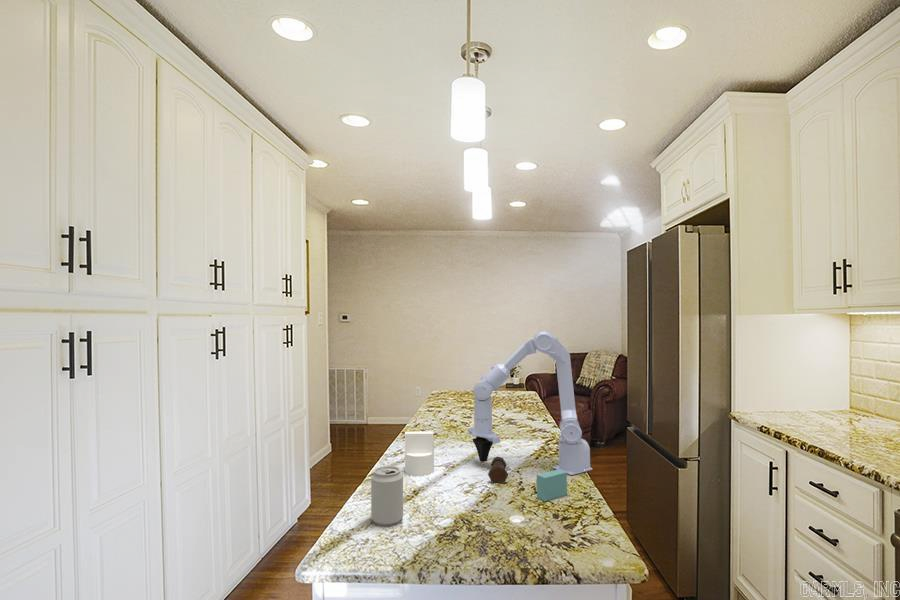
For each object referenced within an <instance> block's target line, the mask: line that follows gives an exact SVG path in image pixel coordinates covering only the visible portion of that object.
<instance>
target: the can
mask: <svg viewBox="0 0 900 600" xmlns="http://www.w3.org/2000/svg"><path fill="white" fill-rule="evenodd" d="M370 480H371V482H370V483H371V486H370V487H371V488H370V491H371V492H370V494H371V495H370V496H371V497H370V498H371V500H370V502H371V505H370V507H371V508H370V510H371V511H370V513H371V514H370V515H371V516H370V517H371V520H372V521H373V522H374V523H375V524H376V525H378V526H382V527H389V526H393V525H396V524H398V523H400V521H401V520H402V519H403V517H404V474H403V473H402V472H401V468H399V467H398V466H396V465H395V466H393V465H383V466H379V467H376V468H375V469H374V470H373V474H372V475H371V478H370Z"/></svg>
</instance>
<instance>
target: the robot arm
mask: <svg viewBox="0 0 900 600" xmlns="http://www.w3.org/2000/svg"><path fill="white" fill-rule="evenodd" d="M537 351H538V352H540V353H543V354H546V355H548V356H549V357H550V358H551V359H553V360H554V361H555V363H556V365H555V366H556V374H557V383H558V384H557V385H558V395H559V404H560V417H561V418H560V421H559V425H558V428H559V430H560V437H558V465H555V466H552V468H553V469H554V470H557V469H559V470H562V471H565V472H567V475H570V476H573V475H578V474H581V473H584V472H588V471H592V470H593V468H592V467H591V448H590V445H589V443H588V442H587V440H586V439H583V438H582V436H583V431H582V429H581V427H580V423H579V421H578V415H577V409H576V400H575V393H574V391H575V389H574V380H573V373H572V372H573V371H572V362H571V354H570V352H569V350H567V348H566V347H565V346H564V345H563V344H562V342H561V341H560V340H559V339H558V338H557V337H556V336H555V335H554V334H552V333H550V332H548V331H547V330H541V331H538V332H537V333H536V334H534V336H531V337H530V338H529V339H528V340H526V341H525V342H523V344H521V345H520V346H519V347H518V348H517V349H516V350H515V351H514V353H512V354H511V356H510V357H509V358H508V359H507V360H505V362H504V363H497V364H495V365H494V364H493V365H492V366H491V367H490V370H489V371H488V372H487V373H486V374H485V375H484V376H481V377H480V378H479V379H480V381H478V382H477V383H476V384H475V385H474V387H473V390H472V392H473V396H474V398H473V401H474V404H473V409H474V410H473V416H474V419H473V421H474V422H473V423H474V424H473V425H474V426H473V427H468V428H467V434H468V435H471V436H473V437H474V438H472V442H473V444H474V446H475V449H476V451H477V455H478V459H479V462H482V463H484V462H488V459H489V454H490V451H491V448H492V446H493V444H500V442H501V437H500V436H499V435H498V434H496V433H495V432H494V431H493V408H492V407H493V405H492V394H493V391H497V390H498V389H499V388H500V387H501V386H502V385H503V384H504V383H505V382H507V380H509V378H510V376H511V374H510V372H511V371H512V369H514V368H515V367H516V366H517V365H518V364H519V363H521V362H522V361H523V360H524V359H525V358H526V357H527V356H529V355H533V354H537ZM584 469H585V471H584Z"/></svg>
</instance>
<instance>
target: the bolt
mask: <svg viewBox="0 0 900 600" xmlns="http://www.w3.org/2000/svg"><path fill="white" fill-rule="evenodd" d="M507 466H508V465H507V463H506V460H505V459H504V457H501V456H496V457H494V458H493V459H492V461H491V463H490V469H489V470H488V473H487V476H488V477H489V480H490V482H491V483H492V484H494V483H495V484H496V483H499V484H498V485H503V483H504V484H505V483H506V480H507V479H508V477H509V473H508V472H507V470H506V468H507ZM496 485H497V484H496Z"/></svg>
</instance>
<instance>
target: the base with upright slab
mask: <svg viewBox="0 0 900 600" xmlns="http://www.w3.org/2000/svg"><path fill="white" fill-rule="evenodd" d="M434 435H435V434H434V431H433V430H426V431H425V430H420V431H419V430H418V431H405V432H404V473H405V474H406V475H407V474H408V475H407V476H410V475H412V476H411V477H418V476H419V477H425V476H424V475H427V476H430V475H432V474H433V473H434V472H435V444H434V443H435V438H434ZM431 473H432V474H431ZM429 474H430V475H429Z"/></svg>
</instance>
